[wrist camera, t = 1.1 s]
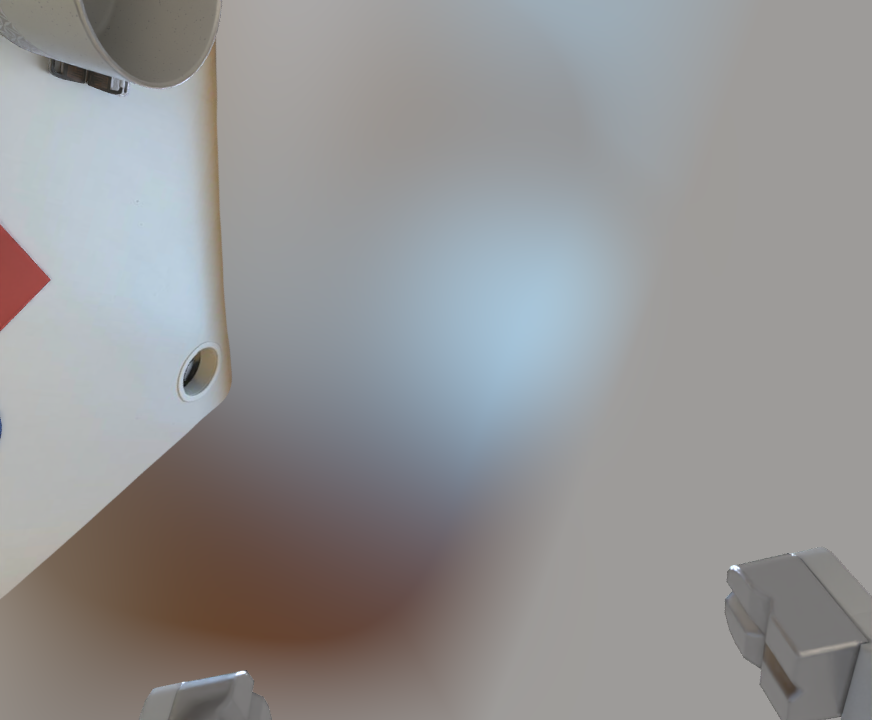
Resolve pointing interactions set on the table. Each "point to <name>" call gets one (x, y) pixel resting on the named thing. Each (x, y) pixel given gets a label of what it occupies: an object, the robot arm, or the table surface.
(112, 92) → the grey hinged piece
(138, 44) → the planter
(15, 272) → the red mat
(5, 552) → the table surface
